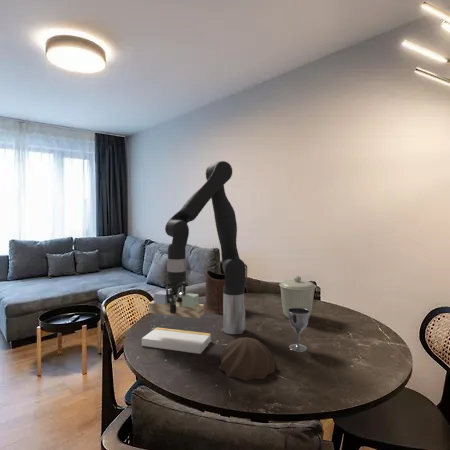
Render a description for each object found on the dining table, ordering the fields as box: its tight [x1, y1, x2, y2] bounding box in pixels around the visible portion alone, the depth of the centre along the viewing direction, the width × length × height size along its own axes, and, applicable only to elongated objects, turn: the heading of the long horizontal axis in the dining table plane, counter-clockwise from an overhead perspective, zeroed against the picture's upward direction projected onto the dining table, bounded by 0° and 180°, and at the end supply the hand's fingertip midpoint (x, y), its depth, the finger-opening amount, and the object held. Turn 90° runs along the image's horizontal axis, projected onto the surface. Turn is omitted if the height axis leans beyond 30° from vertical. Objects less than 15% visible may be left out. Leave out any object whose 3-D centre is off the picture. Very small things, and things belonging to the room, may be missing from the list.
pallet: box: [148, 299, 205, 320], centre depth 132 cm, size 22×6×4 cm, turn 73°
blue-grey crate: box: [153, 290, 170, 305], centre depth 134 cm, size 5×5×4 cm
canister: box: [278, 275, 317, 319], centre depth 165 cm, size 18×18×21 cm
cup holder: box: [204, 263, 248, 314], centre depth 179 cm, size 18×24×25 cm
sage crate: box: [182, 292, 200, 308], centre depth 130 cm, size 5×5×4 cm
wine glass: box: [288, 307, 310, 353], centre depth 129 cm, size 8×8×15 cm
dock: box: [141, 327, 212, 355], centre depth 133 cm, size 25×12×3 cm, turn 74°
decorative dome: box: [218, 336, 276, 382], centre depth 114 cm, size 19×20×10 cm
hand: (176, 310), depth 132 cm, fingers closed on pallet, 5 cm apart
